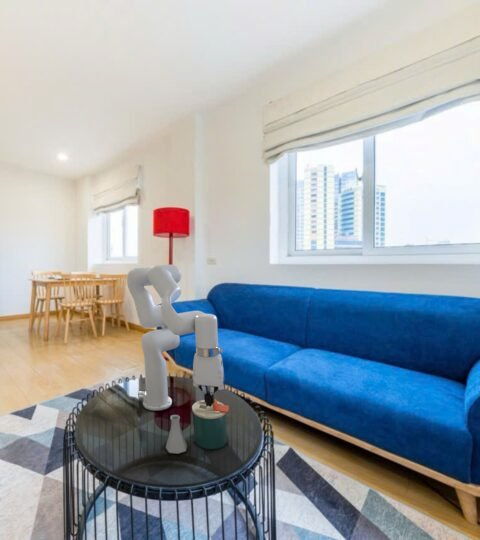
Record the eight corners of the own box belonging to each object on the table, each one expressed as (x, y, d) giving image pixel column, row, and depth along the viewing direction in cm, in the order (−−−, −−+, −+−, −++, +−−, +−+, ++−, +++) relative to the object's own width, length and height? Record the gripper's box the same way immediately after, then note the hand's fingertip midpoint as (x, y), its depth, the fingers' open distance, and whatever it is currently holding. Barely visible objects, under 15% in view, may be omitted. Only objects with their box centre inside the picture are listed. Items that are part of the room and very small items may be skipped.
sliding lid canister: (190, 446, 95) (188, 412, 94) (197, 427, 105) (195, 396, 105) (225, 452, 91) (223, 416, 91) (229, 431, 102) (227, 400, 101)
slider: (213, 411, 95) (212, 404, 95) (214, 405, 99) (214, 398, 99) (227, 413, 94) (227, 406, 94) (229, 406, 98) (228, 400, 98)
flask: (164, 441, 98) (163, 412, 98) (185, 439, 98) (184, 410, 98) (166, 455, 91) (165, 424, 90) (189, 453, 91) (188, 422, 91)
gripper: (230, 349, 98) (233, 402, 99) (188, 346, 103) (190, 397, 104) (228, 356, 91) (230, 413, 92) (182, 353, 96) (185, 407, 97)
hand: (209, 404), depth 98 cm, fingers closed
